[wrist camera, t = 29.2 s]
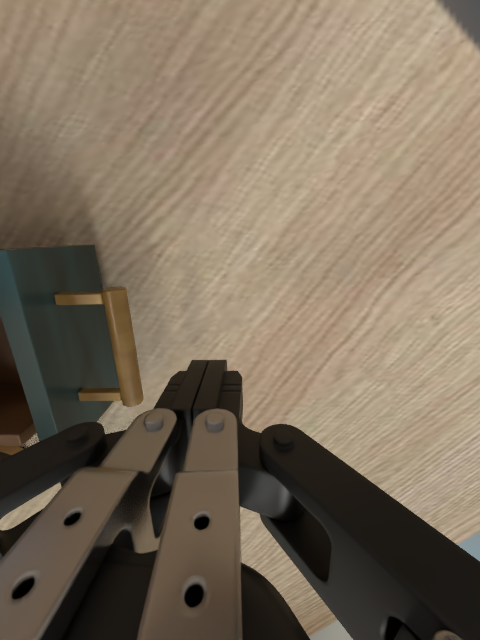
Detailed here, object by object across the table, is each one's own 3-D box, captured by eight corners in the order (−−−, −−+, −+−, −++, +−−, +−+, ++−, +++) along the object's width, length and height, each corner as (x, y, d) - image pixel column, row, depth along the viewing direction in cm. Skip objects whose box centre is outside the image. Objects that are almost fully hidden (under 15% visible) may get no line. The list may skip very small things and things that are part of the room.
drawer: (150, 243, 18) (91, 247, 11) (168, 391, 21) (131, 460, 15) (-93, 249, 19) (-278, 257, 12) (-38, 391, 22) (-158, 456, 16)
